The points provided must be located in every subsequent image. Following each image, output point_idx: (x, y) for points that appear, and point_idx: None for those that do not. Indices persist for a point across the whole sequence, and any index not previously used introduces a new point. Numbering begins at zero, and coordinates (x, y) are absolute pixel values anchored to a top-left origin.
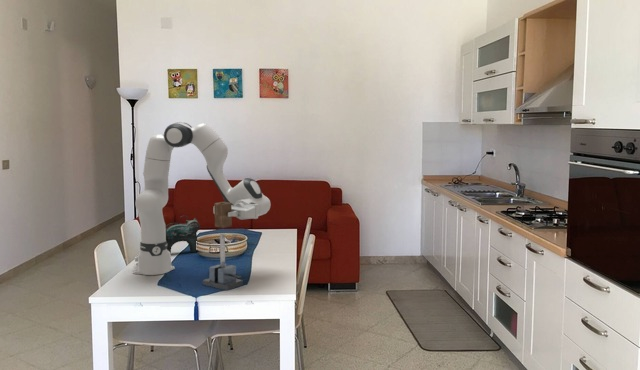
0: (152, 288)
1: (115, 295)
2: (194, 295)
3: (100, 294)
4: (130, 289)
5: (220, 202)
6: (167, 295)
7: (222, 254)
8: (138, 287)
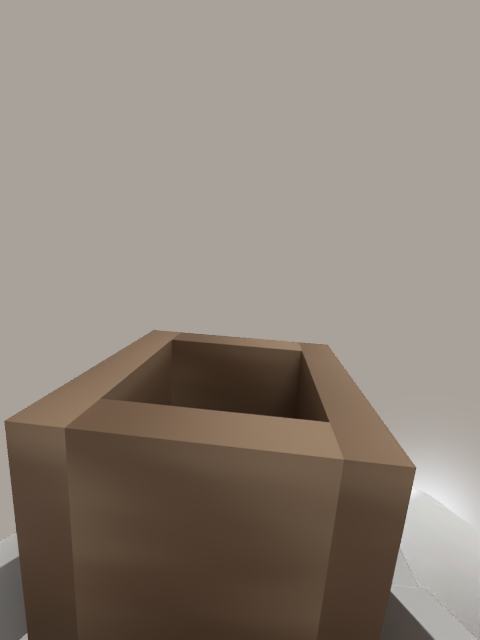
0: None
1: None
2: None
3: (435, 503)
4: (448, 569)
5: (341, 394)
6: None
7: None
8: (463, 602)
